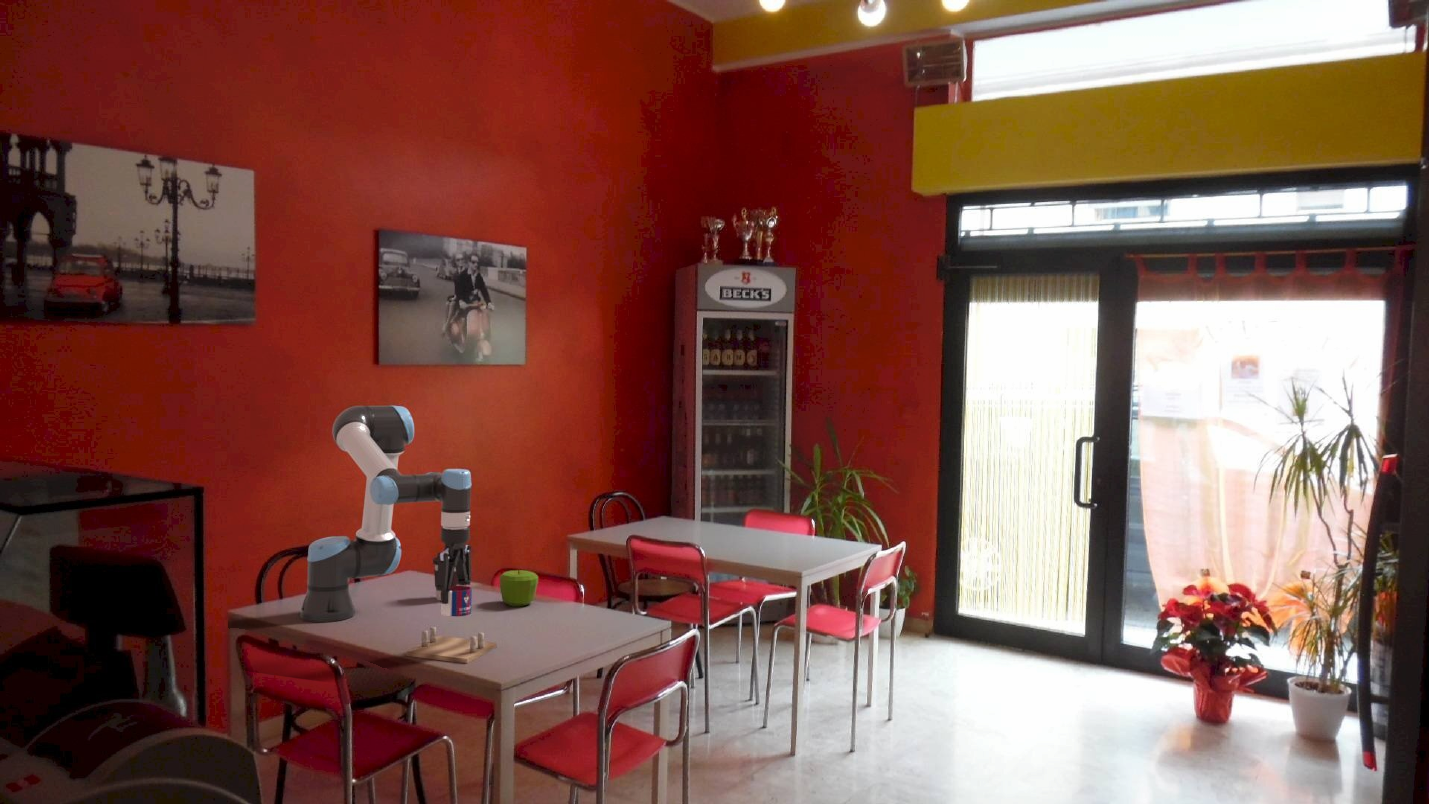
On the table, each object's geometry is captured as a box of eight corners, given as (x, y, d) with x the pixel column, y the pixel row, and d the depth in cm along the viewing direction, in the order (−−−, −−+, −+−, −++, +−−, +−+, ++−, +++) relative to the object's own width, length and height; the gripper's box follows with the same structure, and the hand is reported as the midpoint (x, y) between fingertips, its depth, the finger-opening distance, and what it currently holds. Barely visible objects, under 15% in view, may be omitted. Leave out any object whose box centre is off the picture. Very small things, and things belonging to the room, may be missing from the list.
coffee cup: (469, 598, 323) (470, 553, 322) (446, 604, 314) (447, 557, 314) (448, 593, 328) (449, 549, 327) (425, 599, 320) (426, 553, 319)
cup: (455, 617, 258) (456, 592, 258) (433, 611, 264) (433, 586, 264) (476, 613, 263) (476, 588, 263) (453, 607, 269) (454, 582, 269)
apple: (543, 606, 316) (544, 571, 315) (507, 610, 309) (508, 574, 309) (527, 598, 326) (528, 564, 326) (493, 601, 319) (493, 567, 319)
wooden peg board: (406, 655, 258) (406, 636, 258) (438, 640, 274) (439, 621, 273) (467, 663, 253) (467, 643, 253) (496, 647, 269) (497, 628, 268)
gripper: (448, 533, 252) (446, 622, 252) (486, 522, 271) (484, 605, 271) (422, 531, 254) (420, 619, 254) (462, 520, 273) (460, 602, 273)
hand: (453, 611), depth 263 cm, fingers closed on cup, 7 cm apart
